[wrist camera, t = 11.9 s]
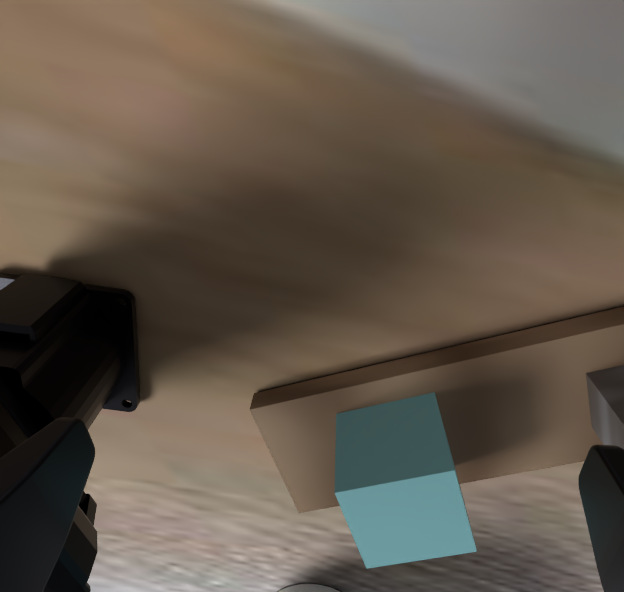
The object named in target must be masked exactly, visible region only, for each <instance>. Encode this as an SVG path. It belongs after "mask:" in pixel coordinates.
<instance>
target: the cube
mask: <svg viewBox="0 0 624 592" xmlns="http://www.w3.org/2000/svg"><path fill="white" fill-rule="evenodd" d="M334 493H335V495H336V498H337V500H338V502H339V505H340V507H341V510H342V512H343V514H344V517H345V519H346V521H347V524H348V526H349V528H350V531H351V533H352V535H353V538H354V540H355V543H356V545H357V547H358V550H359V552H360V554H361V557H362V559H363V561H364V564H365V566H366V569H368V568H374V567H381V566H387V565H394V564H400V563H407V562H413V561H419V560H426V559H432V558H439V557H445V556H452V555H458V554H464V553H471V552H477V550H476V546H475V542H474V538H473V534H472V531H471V527H470V523H469V519H468V515H467V511H466V508H465V504H464V500H463V496H462V492H461V488H460V485H459V481H458V477H457V473H456V469H455V466H454V462H453V458H452V455H451V451H450V447H449V443H448V440H447V436H446V432H445V429H444V425H443V421H442V418H441V414H440V410H439V407H438V403H437V399H436V396H435V392H434V393H429V394H424V395H420V396H415V397H411V398H406V399H402V400H397V401H393V402H388V403H383V404H379V405H374V406H370V407H365V408H361V409H356V410H351V411H347V412H342V413H338V414H336V448H335V492H334Z"/></svg>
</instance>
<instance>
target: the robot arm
mask: <svg viewBox="0 0 624 592" xmlns="http://www.w3.org/2000/svg"><path fill="white" fill-rule="evenodd" d="M118 299H123V300H124V301H125V302H126V305H124V304H121V303H120V302H119V300H118ZM126 399H127V400H129V401H131V403H130V402H127V401H126ZM139 403H140V387H139V367H138V346H137V326H136V305H135V298H134V296H133V295H132V293H130V292H129V291H127V290H124V289H116V288H109V287H101V286H93V285H86V284H84V283H82V282H80V281H78V280H70V279H63V278H55V277H47V276H40V275H32V274H22V275H21V276H18V275H10V274H3V273H0V592H90V586H89V584H88V583H87V581H88V579H89V576H90V573H91V570H92V567H93V564H94V560H95V557H96V554H97V531H96V530H95V528H94V527H93V525H94V519H95V513H96V507H97V504H96V502H95V501H94V500H93V498H92V497H91V496H90V494H85V492H84V488H85V485H86V482H87V479H88V476H89V473H90V470H91V467H92V464H93V461H94V457H95V447H94V444H93V442H92V439H91V437H90V435H89V432H88V429H89V427H90V426H91V424H92V423H93V421H94V420H95V418H96V417H97V415H98V414H99V412H100V411H101V409H102V408H103V409H110V410H118V411H126V412H132V411H134V410H135V409H136V408H137V406H138V404H139ZM579 490H580V495H581V499H582V503H583V508H584V512H585V516H586V521H587V525H588V529H589V534H590V538H591V542H592V547H593V551H594V556H595V560H596V564H597V568H598V572H599V576H600V580H601V583H602V586H603V590H604V592H624V449H623V448H621V447H619V446H615V445H593V446H592V447H591V448H590V450H589V452H588V454H587V457H586V459H585V462H584V464H583V467H582V469H581V472H580V475H579Z"/></svg>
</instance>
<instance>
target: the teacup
mask: <svg viewBox="0 0 624 592" xmlns="http://www.w3.org/2000/svg"><path fill="white" fill-rule="evenodd" d="M278 592H340V591H338V590H335V589H333V588H331V587H327V586H323V585H319V584H298V585H294V586H290V587H286V588H284V589H282V590H280V591H278Z"/></svg>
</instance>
